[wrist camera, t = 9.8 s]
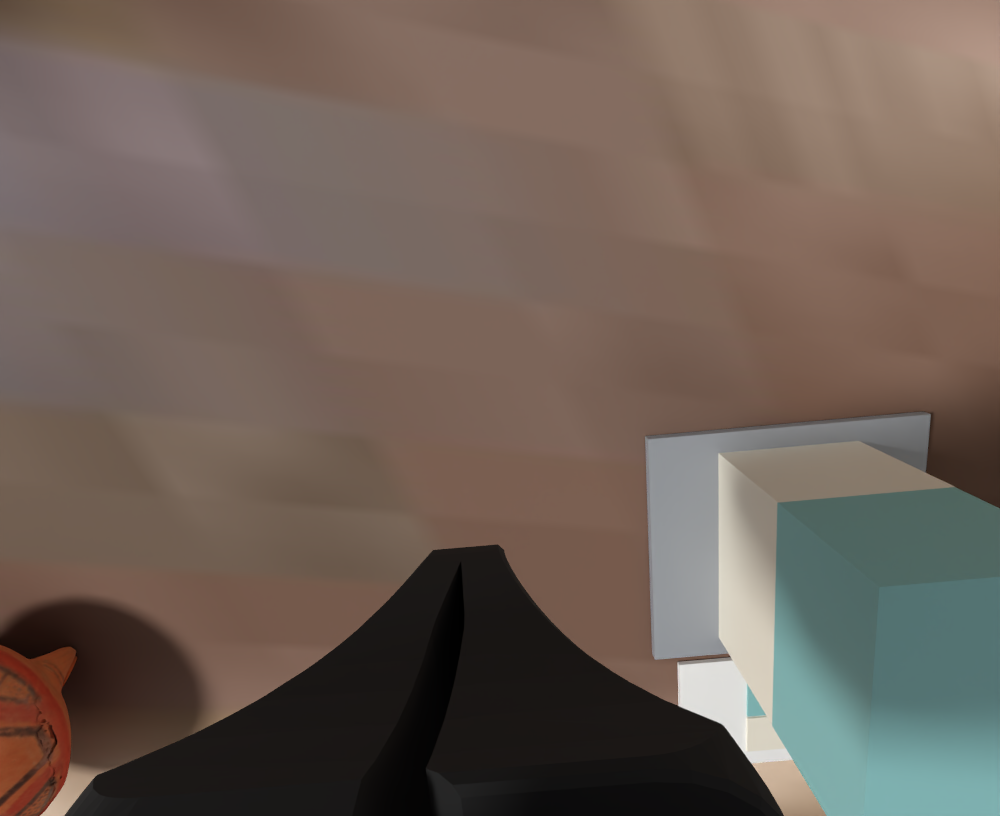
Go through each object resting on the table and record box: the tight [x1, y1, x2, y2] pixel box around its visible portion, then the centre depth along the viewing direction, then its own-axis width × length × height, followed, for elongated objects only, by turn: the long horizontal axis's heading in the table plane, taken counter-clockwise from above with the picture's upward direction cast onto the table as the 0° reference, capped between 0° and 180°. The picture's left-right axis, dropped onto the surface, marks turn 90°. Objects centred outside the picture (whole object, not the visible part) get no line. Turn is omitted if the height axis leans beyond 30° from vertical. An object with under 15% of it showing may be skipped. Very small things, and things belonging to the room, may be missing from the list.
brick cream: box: [718, 441, 955, 724], centre depth 20 cm, size 8×5×4 cm, turn 5°
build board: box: [645, 412, 931, 660], centre depth 22 cm, size 9×10×1 cm
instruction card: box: [678, 657, 793, 763], centre depth 24 cm, size 5×8×1 cm, turn 95°
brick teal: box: [772, 487, 1000, 816], centre depth 15 cm, size 8×5×4 cm, turn 5°
